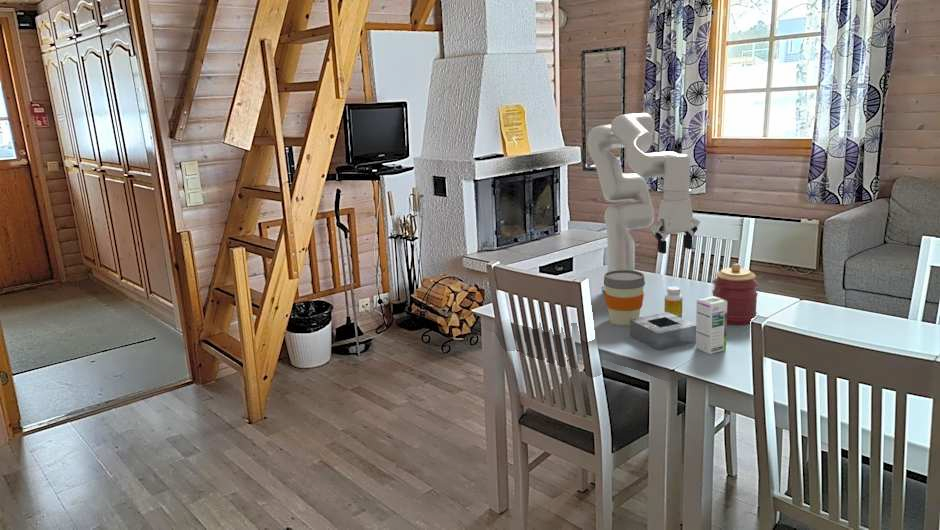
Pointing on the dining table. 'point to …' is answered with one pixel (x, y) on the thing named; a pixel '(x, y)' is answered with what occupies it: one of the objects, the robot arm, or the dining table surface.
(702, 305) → the syrup box
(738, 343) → the dining table surface
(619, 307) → the reusable coffee cup
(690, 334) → the steel collar
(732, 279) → the canister
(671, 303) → the supplement bottle
